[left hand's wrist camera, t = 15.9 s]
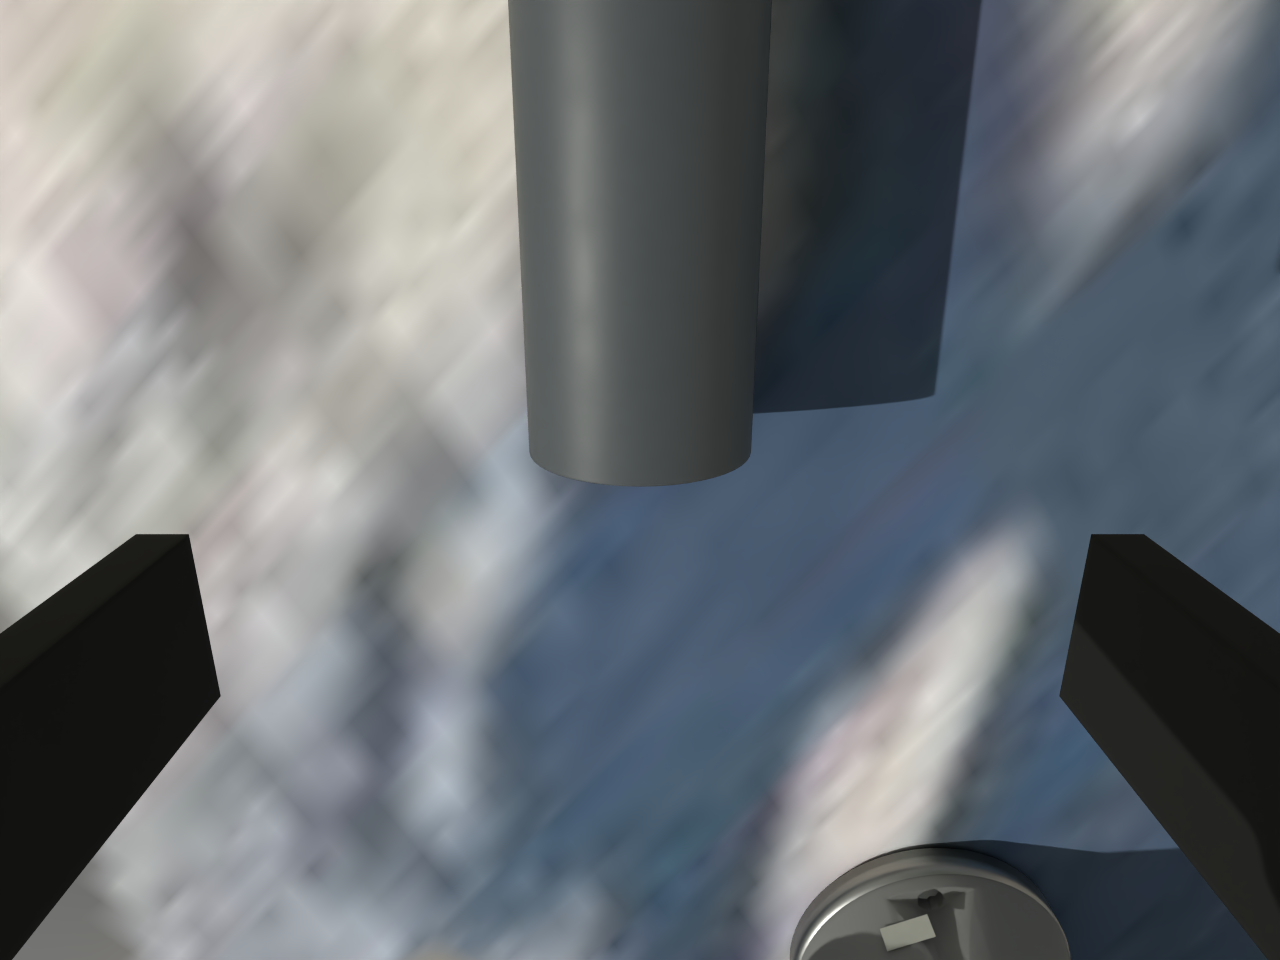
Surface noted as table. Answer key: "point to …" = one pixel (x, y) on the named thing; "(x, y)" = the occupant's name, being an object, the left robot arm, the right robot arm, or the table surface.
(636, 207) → the dark grey cylinder
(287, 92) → the table surface
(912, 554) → the table surface
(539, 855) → the table surface
